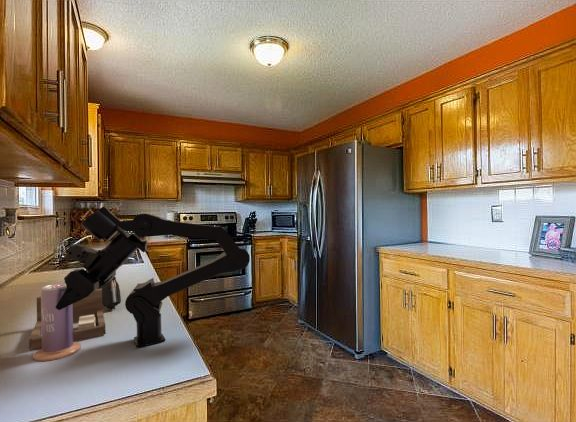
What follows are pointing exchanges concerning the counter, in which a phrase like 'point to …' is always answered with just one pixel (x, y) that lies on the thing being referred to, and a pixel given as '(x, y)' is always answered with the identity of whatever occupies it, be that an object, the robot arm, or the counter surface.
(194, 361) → the counter surface
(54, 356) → the peach round disc
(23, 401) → the counter surface
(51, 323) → the beverage can
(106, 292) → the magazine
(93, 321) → the offcut stack
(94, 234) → the robot arm
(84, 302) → the walnut rack
